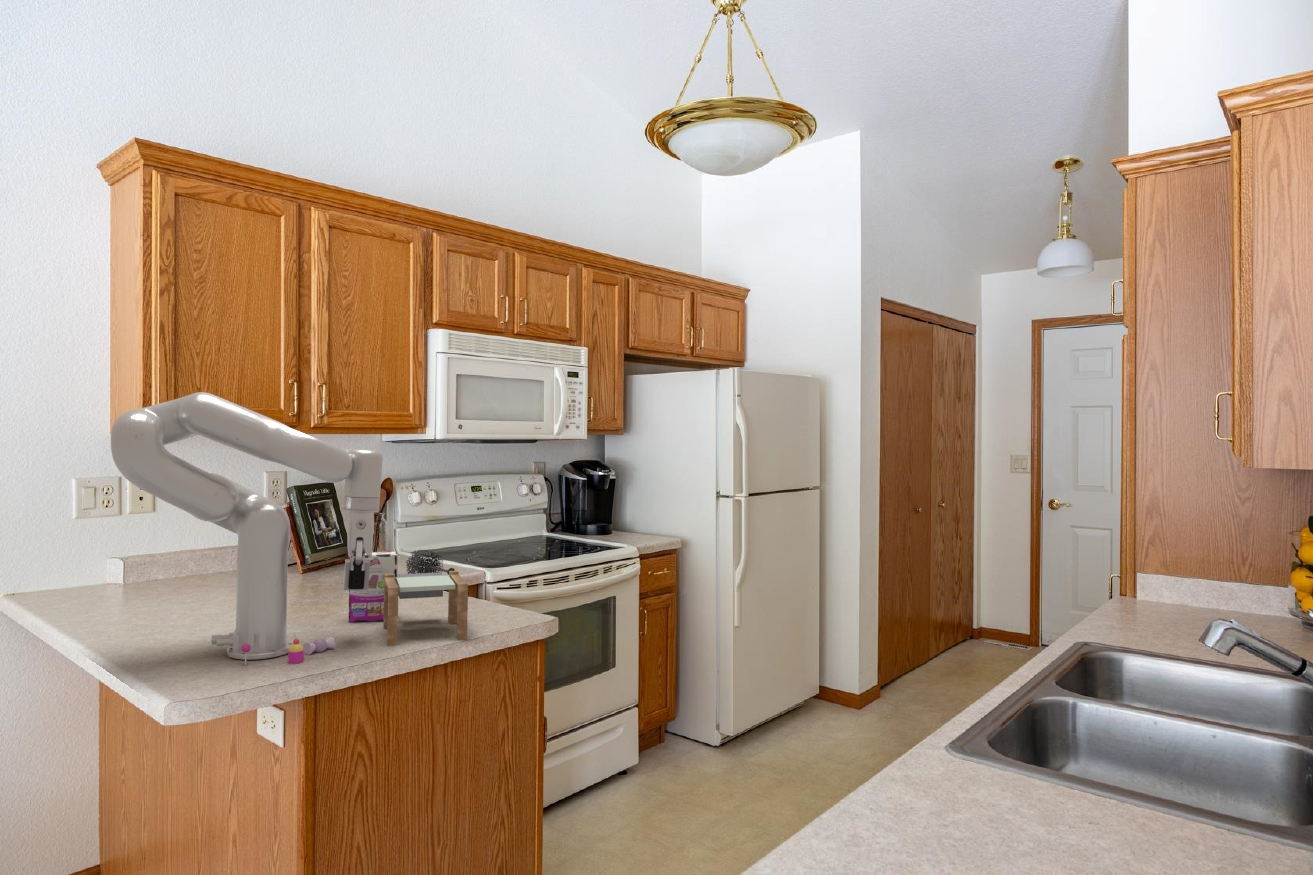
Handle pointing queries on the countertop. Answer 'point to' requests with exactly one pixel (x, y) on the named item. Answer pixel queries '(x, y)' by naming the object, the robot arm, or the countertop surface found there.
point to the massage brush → (428, 566)
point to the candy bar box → (373, 589)
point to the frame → (455, 606)
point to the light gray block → (348, 567)
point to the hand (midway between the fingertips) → (355, 585)
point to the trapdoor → (423, 585)
